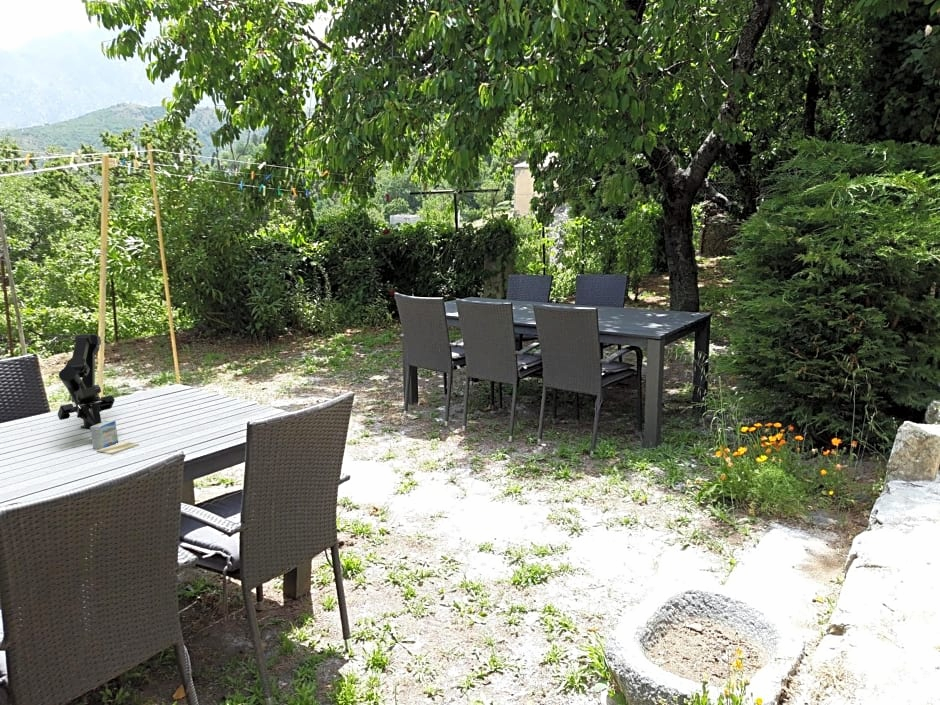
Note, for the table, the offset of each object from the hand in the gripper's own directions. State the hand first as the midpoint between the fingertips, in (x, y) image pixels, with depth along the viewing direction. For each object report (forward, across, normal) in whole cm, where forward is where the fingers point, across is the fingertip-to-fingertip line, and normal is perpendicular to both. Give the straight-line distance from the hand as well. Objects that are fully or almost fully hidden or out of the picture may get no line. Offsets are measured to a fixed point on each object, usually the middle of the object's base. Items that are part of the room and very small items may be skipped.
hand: (96, 425), depth 255 cm
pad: (+14, +1, -4) cm, 14 cm away
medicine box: (+9, 0, +2) cm, 9 cm away
